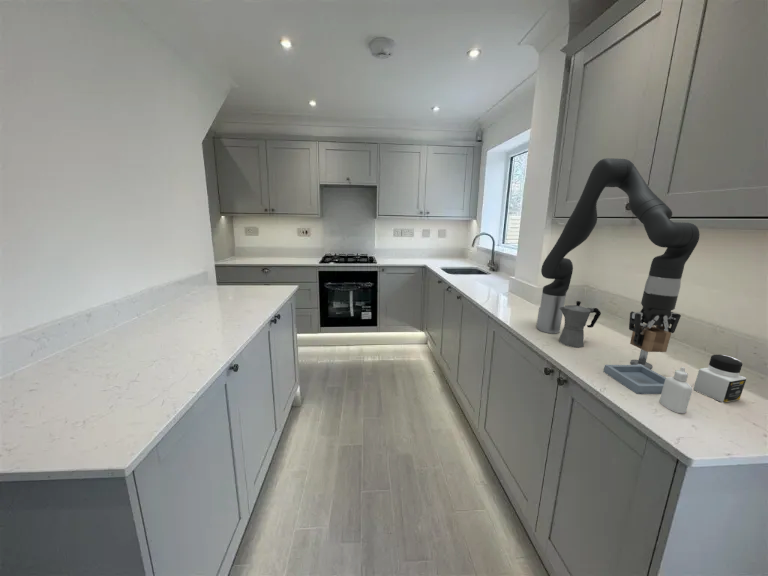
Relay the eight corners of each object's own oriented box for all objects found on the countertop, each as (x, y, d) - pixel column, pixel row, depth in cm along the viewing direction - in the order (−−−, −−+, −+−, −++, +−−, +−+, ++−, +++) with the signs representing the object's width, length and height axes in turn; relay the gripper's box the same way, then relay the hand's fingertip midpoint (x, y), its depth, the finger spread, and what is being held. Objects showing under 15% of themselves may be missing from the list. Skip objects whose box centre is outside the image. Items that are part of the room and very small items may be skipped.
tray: (603, 371, 101) (604, 364, 100) (640, 371, 101) (641, 364, 101) (637, 394, 88) (639, 386, 88) (678, 393, 89) (681, 385, 88)
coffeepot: (558, 346, 120) (566, 303, 116) (549, 337, 130) (556, 297, 125) (600, 349, 118) (609, 306, 114) (588, 340, 127) (596, 299, 123)
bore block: (629, 343, 95) (634, 325, 93) (647, 343, 95) (652, 325, 94) (647, 351, 89) (651, 332, 88) (666, 351, 89) (671, 332, 88)
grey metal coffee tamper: (625, 361, 109) (630, 343, 107) (641, 361, 109) (645, 343, 108) (640, 369, 103) (645, 350, 101) (657, 369, 103) (661, 350, 102)
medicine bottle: (723, 403, 85) (736, 364, 82) (692, 389, 91) (703, 353, 89) (739, 400, 87) (752, 362, 84) (708, 386, 93) (719, 351, 91)
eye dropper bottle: (677, 404, 84) (688, 364, 81) (687, 415, 79) (699, 374, 76) (657, 400, 85) (667, 361, 83) (666, 411, 80) (677, 370, 78)
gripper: (671, 289, 92) (658, 340, 96) (626, 288, 91) (615, 340, 95) (697, 295, 85) (682, 350, 89) (649, 294, 84) (636, 350, 88)
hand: (647, 344), depth 92 cm, fingers closed on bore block, 6 cm apart
